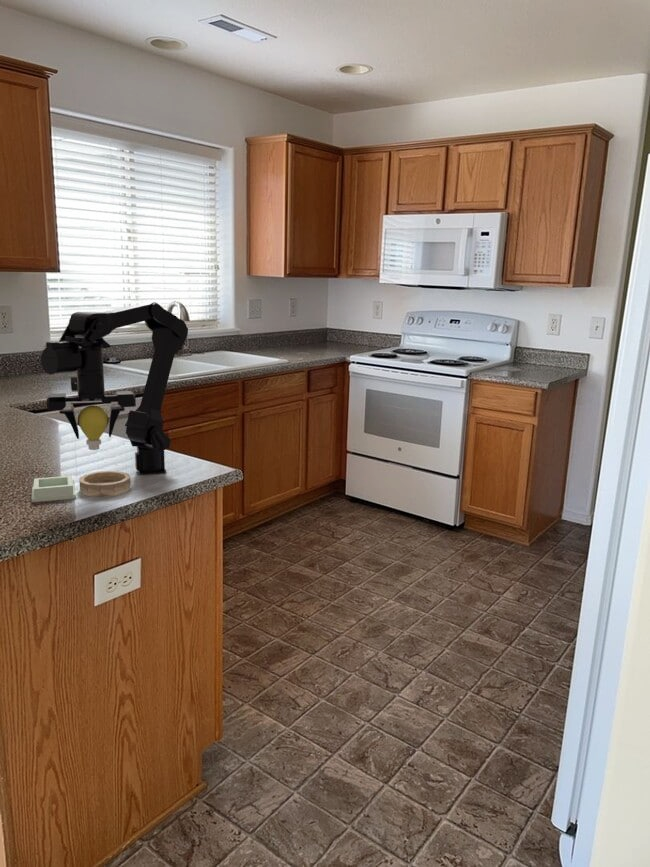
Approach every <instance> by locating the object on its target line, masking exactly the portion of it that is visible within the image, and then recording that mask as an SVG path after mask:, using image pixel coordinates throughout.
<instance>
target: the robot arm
mask: <svg viewBox="0 0 650 867" xmlns="http://www.w3.org/2000/svg"><path fill="white" fill-rule="evenodd" d="M142 322H144V324H145V325H146V326H145V327H146V328H148V329H149V330H150V331H151V332H152V334H151V343H152V346H153V351H154V352H153V355H152V359H151V363H150V367H149V371H148V375H147V379H146V382H145V385H144V390H143V393H142V396H141V397H142V398H141V401H140V405H139V406H138V407H137V404H136V402H137V401H136V395H135V393H134V392H133V391H132V390H121V391H120V390H119V391H116V394H115V395H114V394H113V395H110V394H109V395H106V392H105V391H106V390H105V375H104V374H105V373H104V372H105V371H104V360H103V358H104V357H103V354H104V353H103V349H110V348H111V345H110V343H109V342H107V341H106V340H105V339H104V337H106V336H109V335H110V334H111V333H113V331H114V330H116V329H119V328H122V327H126V326H130V325H134V324H138V323H142ZM188 333H189V328H188V326H187V324H186V322H185V321H184V320H183V319H181V318H179V317H178V316H177V315H175V314H174V313H171V312H170V311H168V310H166V309H165V308H164V307H163V306H162V305H160V304H159V303H158V302H154V301H141V302H140V303H137V304H133V305H128V306H123V307H119V308H115V309H111V310H106V311H76V312H74V313H72V314H71V315H70V318H69V320H68V323H67V326H66V327H65V329H64V331H63V333H62V335H61V337H60V338H59V340H58V341H46V342H45V348H44V349H43V350H42V353H41V356H40V364H41V367H42V369H43V371H44V372H45V373H46V374H48V375H49V376H50V375H60V374H66V373H73V372H76V376H71V377H70V389H71V392H72V393H73V392H75V393H77V396H67V393H49V394H48V395H47V397H46V410H47V411H59V414H61V415H65V418H66V419H67V421H68V423H69V424H70V425H71V428H72V430H73V433H74V435H75V437H76V439H77V440H80V433H79V425H78V420H77V417H76V411H75V407H74V406H83V405H84V406H86V405H106V404H107V405H108V404H109V405H110V406H109V416H108V419H109V423H108V429H107V430H108V437H109V438H112V436H113V435H112V434H113V431H114V428H115V424H116V422H117V418H118V417H119V415H120V413H121V412H124V411H125V409H126V408H133V407H137V408H136V409H135V410H131V409H130V410H129V412H128V415H127V421H126V422H125V424H124V427H125V428H126V429H125V434H126V436H127V438H128V439H129V441H130V444H131V447H136V450H137V451H136V452H134V460H135V466H134V467H135V470H136V472H138V473H139V475H153V474H154V475H155V474H165V473H167V469H166V466H165V465H166V464H165V451H166V449H169V448H170V446H171V441H172V440H171V439H170V437H169V436H168V435H167V434H166V433H165V432H164V431H163V427H164V421H163V416H162V413H161V409H162V404H163V401H164V397H165V394H166V389H167V386H168V380H169V378H170V373H171V370H172V365H173V363H174V359H175V356H176V354H178V353H179V351H181V349H182V348H183V347H184V345H185V342H186V340H187V337H188Z"/></svg>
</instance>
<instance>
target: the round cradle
mask: <svg viewBox="0 0 650 867" xmlns="http://www.w3.org/2000/svg"><path fill="white" fill-rule="evenodd" d="M78 479H79V480H78V482H79V493H80V494H81V495H83V496H86V497H89V498H107V497H109V498H110V497H115V496H119V495H123V494H126V493H128V492H129V491H130V490H131V484H132V482H131V475H130V474H129V473H128V472H124V471H119V470H103V471H95V472H90V473H86V474H84V475H82V476H80V477H78ZM125 492H126V493H125Z"/></svg>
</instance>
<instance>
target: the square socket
mask: <svg viewBox="0 0 650 867" xmlns="http://www.w3.org/2000/svg"><path fill="white" fill-rule="evenodd" d="M75 485H76V484H75V482H73V476H72V475H63V476H51V477H39V478H33V486H32V489H31V503H41V502H50V501H61V500H73V499H77V492H76V486H75Z"/></svg>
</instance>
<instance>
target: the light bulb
mask: <svg viewBox="0 0 650 867" xmlns="http://www.w3.org/2000/svg"><path fill="white" fill-rule="evenodd" d="M77 425H78V427H80V429H81V431H82V433H83V434H84V436H85V437H86V438H87V439H86V440H85V441H86V445H87V446H88V450H91V451H95V450H99V449H100V445H101V444H102V439H101V437H102V435H103V434H104V432H105V431H106V428H107V426H109V414H108V412H107V411H106V410H105V409H104V408H102V407H101V406H99V405H89V406H86V407H84V408H83V409H81V410H80V412H79V413H78V416H77Z"/></svg>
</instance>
